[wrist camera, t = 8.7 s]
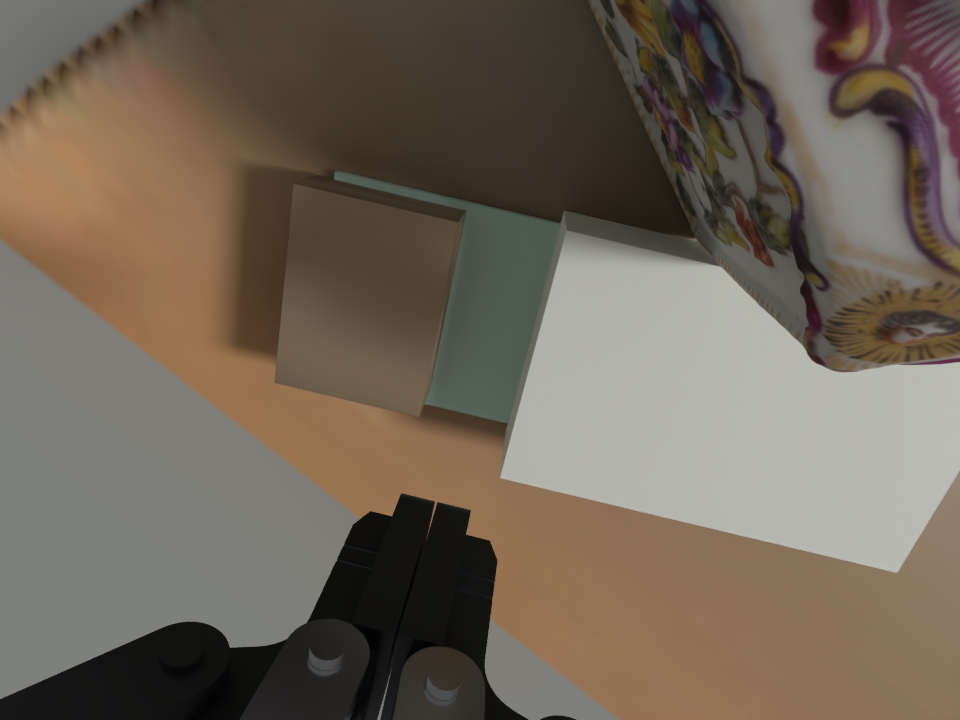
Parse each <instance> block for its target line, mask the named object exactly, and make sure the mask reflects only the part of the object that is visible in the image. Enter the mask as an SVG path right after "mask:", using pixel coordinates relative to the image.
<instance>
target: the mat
mask: <svg viewBox="0 0 960 720" xmlns="http://www.w3.org/2000/svg"><path fill="white" fill-rule="evenodd" d="M334 179H335V180H339V181H343V182H347V183H352V184H356V185H360V186H364V187H369V188H373V189H377V190H381V191H386V192H390V193H394V194H398V195H403V196H407V197H411V198H415V199H420V200H424V201H428V202H432V203H436V204H441V205H445V206H449V207H453V208H458V209H462V210H466V216H465V221H464V226H463V231H462V236H461V240H460V245H459V250H458V255H457V260H456V265H455V270H454V275H453V280H452V285H451V290H450V294H449V299H448V304H447V309H446V314H445V319H444V324H443V329H442V334H441V339H440V344H439V348H438V353H437V358H436V363H435V368H434V373H433V378H432V383H431V388H430V392H429V394H428V397H427V399H426V402H425V404H427V405H431V406H435V407H439V408H444V409H448V410H452V411H456V412H460V413H465V414H469V415H473V416H477V417H481V418H486V419H490V420H494V421H498V422H502V423H507V424H508V422H509V418H510V414H511V411H512V407H513V403H514V399H515V396H516V392H517V388H518V384H519V380H520V377H521V373H522V369H523V365H524V362H525V358H526V354H527V350H528V346H529V343H530V339H531V335H532V331H533V328H534V324H535V320H536V316H537V312H538V309H539V305H540V301H541V297H542V294H543V290H544V286H545V282H546V279H547V275H548V271H549V267H550V263H551V260H552V256H553V252H554V248H555V245H556V241H557V237H558V233H559V229H560V226H561V223H559V222H555V221H551V220H546V219H542V218H538V217H534V216H529V215H525V214H521V213H517V212H512V211H508V210H504V209H500V208H495V207H491V206H487V205H483V204H478V203H474V202H470V201H466V200H461V199H457V198H453V197H449V196H444V195H440V194H436V193H432V192H428V191H423V190H419V189H415V188H411V187H406V186H402V185H398V184H394V183H389V182H385V181H381V180H377V179H372V178H368V177H364V176H360V175H355V174H351V173H347V172H343V171H335V173H334Z"/></svg>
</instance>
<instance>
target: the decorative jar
mask: <svg viewBox="0 0 960 720" xmlns="http://www.w3.org/2000/svg"><path fill="white" fill-rule="evenodd" d="M587 1H588V3H589V5H590V7H591V10H592V12H593V14H594V16H595V18H596V20H597V22H598V24H599V27H600V29H601V32H602V34H603V36H604V38H605V40H606V42H607V46H608V48H609V50H610V52H611V55H612V57H613V59H614V61H615V63H616V66H617V67H618V69H619V71H620V73H621V75H622V77H623V80H624V82H625V84H626V87H627V89H628V92H629V94H630V96H631V98H632V100H633V103H634V105H635V108H636V110H637V112H638V114H639V117H640V118H641V120H642V122H643V125H644V127H645V129H646V131H647V133H648V136H649V138H650V140H651V142H652V144H653V147H654V149H655V151H656V153H657V155H658V157H659V160H660V162H661V164H662V165H663V168H664V170H665V172H666V173H667V176H668V178H669V181H670V182H671V184H672V187H673V189H674V191H675V194H676V195H677V197H678V200H679V202H680V204H681V206H682V209H683V211H684V213H685V215H686V217H687V219H688V222H689V224H690V227H691V230H692V232H693V234H694V236H695V237H696V239H697V240H698V241H699V242H700V244H701V245H702V246H703V247H704V249H705V250H706V251H707V252H708V253H709V254H710V255H711V256H712V257H713V258H714V260H716V261H717V263H718V264H719V265H720V266H721V267H722V268H723V269H724V270H725V271H726V273H727V274H729V275H730V277H731V278H733V279H734V281H735V282H737V283H738V285H739V286H740V287H741V288H742V289H743V290H744V291H745V292H746V293H748V294H749V296H750V297H751V298H753V299H754V300H755V301H756V302H757V303H758V305H759V306H760V307H762V308H763V309H764V310H765V311H766V312H767V313H768V314H769V315H771V316H772V317H773V318H774V319H775V320H776V321H777V322H778V323H779V324H780V325H781V326H783V327H784V328H785V329H786V330H787V331H788V332H789V333H790V334H791V335H792V336H793V337H794V338H795V339H796V340H797V341H799V342H800V343H801V344H802V346H803V347H804V348H805V350H806V352H807V355H808V356H809V357H810V359H811V360H812V361H813V362H815V363H816V364H819V365H822V366H823V367H825V368H827V369H830V370H832V371H836V372H858V371H862V370H867V369H874V368H880V367H885V366H889V365H897V364H898V365H936V364H947V363H955V362H960V0H587Z"/></svg>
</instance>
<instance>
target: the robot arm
mask: <svg viewBox="0 0 960 720" xmlns="http://www.w3.org/2000/svg"><path fill="white" fill-rule="evenodd" d="M434 504H435V501H431V500H427V499H423V498H419V497H414V496H410V495H406V494H401V495H400V498H399V500H398V503H397V505H396V508H395V511H394V513H393V516H388V515H384V514H380V513H375V512H371V511H370V512H369V513H368V514H366V515H365V516H364V517H362V518H361V519H360V520H359V521H357V522H356V523H355V524H353V526H352V528H351V531H350V533H349V535H348V537H347V539H346V541H345V544H344V546H343V548H342V550H341V552H340V554H339V556H338V559H337V562H336V563H335V565H334V567H333V569H332V571H331V574H330V576H329V578H328V580H327V582H326V584H325V586H324V588H323V591H322V593H321V595H320V597H319V599H318V601H317V603H316V606H315V608H314V610H313V612H312V614H311V617H310V618H309V620H308V622H307V623H306V624H304V625H302V626H300V627H299V628H298V629H296V630H295V631H294V632H293V633H292V634H291V635H290V636H289V637H288V639H286V640H284V641H282V642H279V643H276V644H272V645H268V646H259V647H238V648H230V647H229V644H228V641H227V639H226V637H225V636H224V635H223V634H222V633H221V632H220V631H219V630H218V629H216V628H214V627H212V626H210V625H208V624H204V623H199V622H181V623H176V624H172V625H169V626H166V627H163V628H161V629H159V630H157V631H154V632H152V633H150V634H147V635H145V636H143V637H140V638H138V639H136V640H134V641H131V642H129V643H127V644H125V645H122V646H120V647H118V648H116V649H113V650H111V651H109V652H106V653H104V654H102V655H100V656H98V657H95V658H93V659H91V660H88V661H86V662H84V663H82V664H79V665H77V666H75V667H72V668H70V669H68V670H66V671H63V672H61V673H59V674H57V675H55V676H52V677H50V678H48V679H45V680H43V681H41V682H38V683H36V684H34V685H32V686H30V687H27V688H25V689H23V690H20V691H18V692H16V693H14V694H11V695H9V696H7V697H4V698H2V699H0V720H377V718H378V715H379V711H380V708H381V704H382V701H383V697H384V694H385V690H386V687H387V683H388V680H389V684H388V688H387V693H386V697H385V701H384V706H383V710H382V715H381V720H528V719H527V718H525V717H523V716H521V715H520V714H518V713H517V712H515V711H513V710H512V709H510V708H509V707H508V706H506V705H505V704H504V703H503V702H502V701H501V700H500V699H499V698H498V697H497V696H496V695H495V693H494V692H493V690H492V689H491V687H490V685H489V683H488V681H487V677H486V674H485V667H484V666H485V654H486V646H487V638H488V630H489V622H490V614H491V607H492V597H493V591H494V581H495V575H496V567H497V558H496V556H495V553H494V550H493V548H492V545H491V543H490V541H489V540H485V539H481V538H477V537H473V536H469V535H466V531H467V527H468V522H469V517H470V512H471V510H468V509H464V508H460V507H455V506H451V505H447V504H443V503H439V502H438V503H437V506H436V509H435V513H434V516H433V520H432V523H431V527H430V530H429V526H430V522H431V517H432V513H433V508H434ZM428 531H429V533H428ZM427 535H428V537H427ZM426 539H427V540H426ZM391 669H392V670H391ZM390 673H391V674H390ZM389 676H390V679H389ZM541 720H576V719H573V718H570V717H566V716H548V717H545V718H542V719H541Z"/></svg>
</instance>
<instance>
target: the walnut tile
mask: <svg viewBox="0 0 960 720" xmlns="http://www.w3.org/2000/svg"><path fill="white" fill-rule="evenodd" d="M465 216H466V210H462V209H458V208H453V207H449V206H445V205H441V204H436V203H432V202H428V201H424V200H420V199H415V198H411V197H407V196H403V195H398V194H394V193H390V192H386V191H381V190H377V189H373V188H369V187H364V186H360V185H356V184H352V183H347V182H343V181H339V180H335V179H330V178H326V177H322V176H318V175H316V176H313V177H311V178H308V179H305V180H302V181H299V182H297V183H294V184H293V193H292V204H291V214H290V225H289V236H288V246H287V257H286V268H285V278H284V289H283V299H282V310H281V321H280V331H279V342H278V352H277V363H276V374H275V383H278V384H282V385H286V386H290V387H295V388H299V389H303V390H307V391H311V392H316V393H320V394H324V395H328V396H332V397H337V398H341V399H345V400H349V401H353V402H358V403H362V404H366V405H370V406H374V407H379V408H383V409H387V410H391V411H396V412H400V413H404V414H408V415H412V416H417V417H420V414H421V412H422V409H423V407H424V404H425V402H426V399H427V397H428V394H429V392H430V388H431V383H432V378H433V373H434V368H435V363H436V358H437V353H438V348H439V344H440V339H441V334H442V329H443V324H444V319H445V314H446V309H447V304H448V299H449V294H450V290H451V285H452V280H453V275H454V270H455V265H456V260H457V255H458V250H459V245H460V240H461V236H462V231H463V226H464V221H465Z"/></svg>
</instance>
